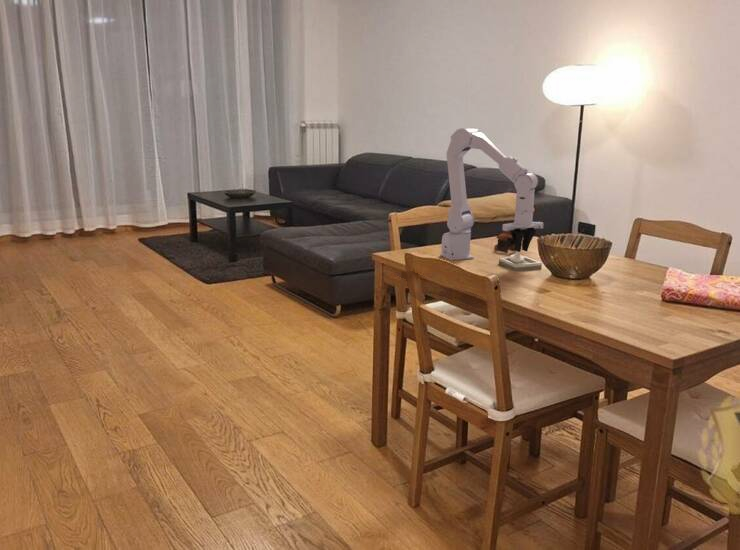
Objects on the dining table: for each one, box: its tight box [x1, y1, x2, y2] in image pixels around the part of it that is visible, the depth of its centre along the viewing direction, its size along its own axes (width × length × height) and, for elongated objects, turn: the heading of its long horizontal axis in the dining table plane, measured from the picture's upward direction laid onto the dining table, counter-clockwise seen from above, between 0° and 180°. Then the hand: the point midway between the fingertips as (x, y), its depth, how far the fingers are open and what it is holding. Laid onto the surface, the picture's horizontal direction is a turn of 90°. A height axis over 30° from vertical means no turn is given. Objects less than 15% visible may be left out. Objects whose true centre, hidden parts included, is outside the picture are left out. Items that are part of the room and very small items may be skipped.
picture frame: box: [498, 255, 543, 272], centre depth 218 cm, size 10×10×2 cm
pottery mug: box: [493, 230, 516, 254], centre depth 239 cm, size 12×10×8 cm
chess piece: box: [509, 235, 524, 263], centre depth 217 cm, size 5×5×10 cm
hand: (521, 250), depth 216 cm, fingers closed on chess piece, 2 cm apart
